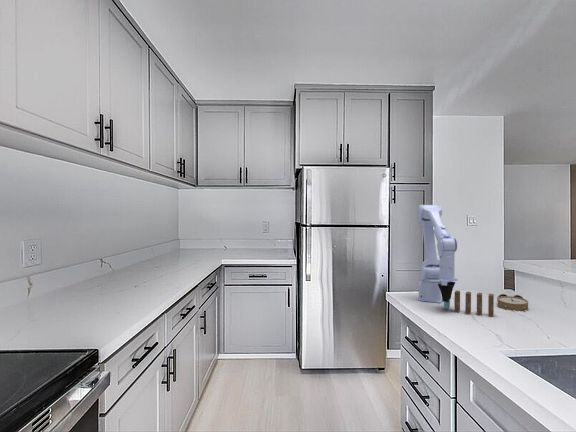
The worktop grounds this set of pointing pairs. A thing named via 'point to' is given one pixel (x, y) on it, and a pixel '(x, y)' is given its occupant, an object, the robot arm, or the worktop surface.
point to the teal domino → (447, 304)
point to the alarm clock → (512, 302)
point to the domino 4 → (491, 305)
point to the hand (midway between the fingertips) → (446, 300)
